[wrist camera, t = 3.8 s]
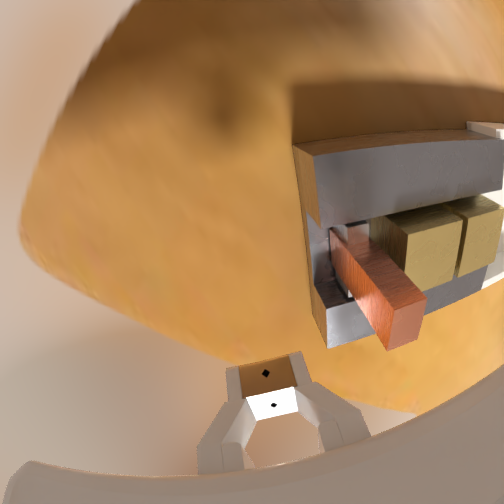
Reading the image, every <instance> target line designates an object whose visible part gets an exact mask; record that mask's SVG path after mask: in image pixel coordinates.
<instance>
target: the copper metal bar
mask: <svg viewBox="0 0 504 504" xmlns="http://www.w3.org/2000/svg"><path fill="white" fill-rule="evenodd" d="M329 231H330V245H331V262H332V266H333V267H334V269H335V277H336V279H337V280H338V282H339V284H340V285H341V287H342V288H343V290H344V291H345V293H346V295H347V296H348V298H349V297H354V299H355V300H356V302H357V304H358V305H359V307H360V308H361V310H362V311H363V313H364V315H365V316H366V318H367V319H368V321H369V323H370V324H371V326H372V327H373V329H374V331H375V332H376V334H377V336H378V337H379V339H380V341H381V342H382V344H383V345H384V347H385V349H386V350H387V351H389V350H392V349H394V348H397V347H400V346H402V345H405V344H407V343H409V342H412V341H414V340H417V338H418V335H419V331H420V327H421V323H422V320H423V316H424V311H425V307H426V303H427V297H426V296H425V295H424V294H423V293H422V291H421V290H420V289H419V288H418V287H417V286H416V285H415V284H414V283H413V282H412V281H411V279H410V278H409V277H408V276H407V275H406V274H405V273H404V272H403V271H402V270H401V269H400V268H399V267H398V266H397V265H396V264H395V263H394V261H393V260H392V259H391V258H390V257H389V256H388V255H387V254H386V253H385V252H384V251H383V250H382V249H381V248H380V247H379V246H378V245H377V244H376V243H375V242H374V241H373V240H372V239H371V238H370V237H369V223H368V222H367V221H366V220H361V221H356V222H352V223H347V224H343V225H338V226H334V227H333V228H330V229H329Z"/></svg>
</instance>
